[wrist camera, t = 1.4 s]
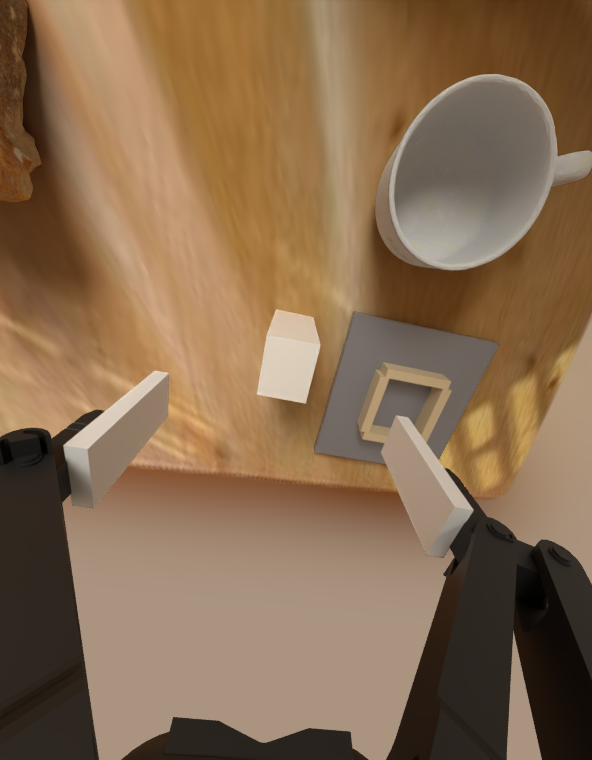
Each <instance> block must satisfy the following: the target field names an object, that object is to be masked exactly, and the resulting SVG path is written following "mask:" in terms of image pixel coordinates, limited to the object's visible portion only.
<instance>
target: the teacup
mask: <svg viewBox="0 0 592 760" xmlns="http://www.w3.org/2000/svg"><path fill="white" fill-rule="evenodd" d="M591 168H592V152H591V151H579V152H574V153H570V154H566V155H562V156H557V138H556V135H555V126H554V122H553V118H552V115H551V113H550V111H549V109H548V107H547V105H546V104H545V102H544V101H543V99H542V98H541V96H540V95H539V94H538V93H537V92H536V91H535V90H534V89H532V88H531V87H530V86H529V85H527V84H526V83H524V82H522V81H520V80H518V79H516V78H512V77H508V76H504V75H500V74H484V75H477V76H474V77H470V78H467V79H465V80H462V81H460V82H458V83H456V84H454V85H452V86H450V87H449V88H447V89H445V90H444V91H442V92H441V93H440V94H439V95H437V96H436V97H435V98H434V99H432V100H431V101H430V102H429V103H428V104H427V105H426V106H425V107H424V108H423V109H422V110H421V112H420V113H419V114H418V115H417V117H416V118H415V119H414V120H413V122H412V123H411V125H410V126H409V128H408V129H407V131H406V133H405V135H404V137H403V138H402V141H401V142H400V143H399V145H398V146H397V148H396V149H395V151H394V152H393V154H392V156H391V157H390V159H389V161H388V162H387V164H386V166H385V168H384V171H383V173H382V176H381V178H380V181H379V185H378V189H377V193H376V200H375V217H376V223H377V227H378V230H379V233H380V235H381V238H382V240H383V242H384V243H385V245H386V246H387V247H388V249H389V250H390V251H391V252H392V253H393V254H394V255H395V256H397V257H398V258H399V259H401V260H403V261H404V262H406V263H409V264H411V265H415V266H419V267H424V268H433V269H441V270H448V271H458V270H467V269H471V268H475V267H477V266H480V265H483V264H486V263H489V262H490V261H492V260H494V259H496V258H498V257H499V256H501V255H503V254H504V253H506V252H507V251H508V250H509V249H510V248H512V247H513V246H514V245H515V244H516V243H517V242H518V241H520V239H521V238H522V237H523V236H524V235H525V234H526V233H527V232H528V231H529V229H530V227H531V226H532V225H533V224H534V222H535V221H536V219H537V217H538V216H539V214H540V212H541V210H542V208H543V206H544V204H545V202H546V199H547V197H548V194H549V192H550V189H551V187H555V186H559V185H563V184H567V183H571V182H575V181H578V180H580V179H583V178H584V177H586V176H587V175H588V174H589V172H590V170H591Z"/></svg>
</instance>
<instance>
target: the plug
mask: <svg viewBox="0 0 592 760" xmlns="http://www.w3.org/2000/svg"><path fill="white" fill-rule="evenodd" d="M320 346H321V345H320V341H319V338H318V334H317V330H316V326H315V322H314V318H313V317H310V316H305V315H300V314H296V313H291V312H286V311H281V310H277V309H276V311H275V314H274V317H273V319H272V322H271V325H270V328H269V331H268V333H267V338H266V344H265V349H264V355H263V361H262V367H261V373H260V379H259V384H258V390H257V395H262V396H267V397H273V398H278V399H284V400H289V401H294V402H300V403H305V404H306V400H307V397H308V393H309V389H310V385H311V381H312V377H313V373H314V369H315V365H316V361H317V357H318V353H319V350H320Z"/></svg>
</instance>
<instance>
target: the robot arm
mask: <svg viewBox="0 0 592 760" xmlns="http://www.w3.org/2000/svg"><path fill="white" fill-rule="evenodd" d="M168 396H169V373H166V372H160V371H154V372H153V373H151V374H150V375H149V376H148V377H146V378H145V379H144V380H143V381H141V382H140V383H139V384H138V385H137V386H135V387H134V388H133V389H132V390H130V391H129V392H128V393H127V394H126V395H124V396H123V397H122V398H121V399H119V400H118V401H117V402H116V403H115V404H113V405H112V406H111V407H110V408H108V409H107V410H106V411H102V410H94V411H92V412H89V413H87V414H84V415H83V416H81V417H80V418H79V419H77V420H76V421H75V422H74V423H72V424H71V425H69V426H68V427H67V429H64V430H63V431H61V432H60V433H59V434H57V435H56V436H55V437H53V438H52V439H51V435H50V433H49V432H48V431H47V430H44V429H41V428H25V429H20V430H16V431H12V432H10V433H7V434H5V435H3V436H1V437H0V760H99V757H98V750H97V743H96V737H95V731H94V725H93V717H92V710H91V703H90V696H89V689H88V682H87V675H86V668H85V661H84V654H83V647H82V640H81V633H80V626H79V619H78V612H77V604H76V597H75V591H74V583H73V576H72V569H71V562H70V555H69V548H68V541H67V534H66V527H65V521H64V513H63V506H62V502H63V501H64V500H65V499H66V498H67V497H68V496H69V495H70V494H71V500H72V505H73V506H80V507H87V508H95V507H96V505H97V504H98V503H99V501H100V500H101V499H102V498H103V496H104V495H105V494H106V492H107V491H108V490H109V489H110V488H111V486H112V485H113V484H114V483H115V481H116V480H117V479H118V478H119V476H120V475H121V474H122V472H123V471H124V470H125V469H126V468H127V466H128V465H129V464H130V463H131V461H132V460H133V459H134V458H135V456H136V455H137V454H138V453H139V451H140V450H141V449H142V448H143V446H144V445H145V444H146V443H147V441H148V440H149V439H150V438H151V436H152V435H153V434H154V433H155V431H156V430H157V429H158V428H159V426H160V425H161V424H162V422H163V421H164V420H165V419H166V417H167V416H168ZM381 454H382V456H383V458H384V461H385V463H386V465H387V468H388V470H389V472H390V474H391V477H392V479H393V481H394V483H395V486H396V488H397V490H398V493H399V495H400V497H401V499H402V501H403V504H404V506H405V508H406V511H407V513H408V515H409V517H410V520H411V522H412V524H413V526H414V529H415V531H416V534H417V536H418V538H419V540H420V543H421V545H422V547H423V549H424V552H425V554H426V555H427V556H434V557H441V558H444V556H445V555H446V553H447V552H448V550H449V548H450V549H451V551H452V552H453V554H454V556H455V558H454V559H453V560H452V562H451V564H450V565H449V567H448V568H447V570H446V571H445V573H444V576H447V577H446V580H445V584H444V586H443V590H442V593H441V596H440V599H439V602H438V606H437V609H436V612H435V615H434V619H433V622H432V625H431V628H430V631H429V634H428V637H427V641H426V644H425V647H424V650H423V653H422V656H421V659H420V663H419V666H418V669H417V672H416V675H415V678H414V682H413V685H412V688H411V691H410V694H409V698H408V701H407V704H406V707H405V710H404V713H403V717H402V720H401V723H400V726H399V729H398V733H397V736H396V739H395V741H394V744H393V746H392V749H391V751H390V753H389V755H388V757H387V759H386V760H507V755H506V754H507V736H508V718H509V698H510V681H511V661H512V643H513V631H514V635H515V640H516V644H517V649H518V653H519V657H520V662H521V667H522V671H523V676H524V680H525V684H526V689H527V693H528V698H529V703H530V707H531V712H532V716H533V721H534V725H535V730H536V734H537V739H538V743H539V748H540V753H541V757H542V760H592V584H591V582H590V580H589V578H588V577H587V575H586V573H585V571H584V569H583V567H582V565H581V564H580V563H579V561H578V560H577V559H576V558H575V557H574V556H573V555H572V554H571V553H570V552H569V551H568V550H566V549H565V548H563V547H562V546H560V545H558V544H556V543H554V542H552V541H549V540H541V541H539V542H538V544H537V545H536V546H535V547H533V546H531V545H528V544H526V543H524V542H521V541H519V540H517V539H516V537H515V536H514V534H513V533H512V532H511V531H510V530H509V529H508V528H507V527H506V526H505V525H503V524H501V523H500V522H499V521H497V520H495V519H493V518H489V517H487V516H486V515H485V513H484V512H483V511H482V509H481V508H480V506H479V505H478V504H477V502H476V501H475V500H474V498H473V497H472V496H471V494H469V492H468V490H467V489H466V487H464V485H463V483H462V482H461V481H460V479H459V478H458V477H457V476H456V475H455V474H454V473H453V472H451V471H450V470H449V469H447V468H444V467H443V466H442V465H441V463H440V462H439V460H438V459H437V457H436V456H435V455H434V453H433V452H432V450H431V449H430V448H429V446H428V445H427V443H426V442H425V440H424V439H423V438H422V436H421V435H420V433H419V432H418V431H417V429H416V428H415V426H414V425H413V423H412V422H411V421H410V419H409V418H408V417H403V416H398V415H396V416H395V419H394V421H393V424H392V426H391V429H390V431H389V434H388V436H387V438H386V441H385V443H384V446H383V448H382V451H381ZM122 760H368V759H367V758H366V757H364V756H363V755H362V754H360V753H359V752H358V751H356V750H355V749H352V742H351V732H348V731H336V730H324V729H311V728H308V729H305V730H302V731H299V732H297V733H294V734H291V735H288V736H285V737H282V738H279V739H276V740H273V741H270V742H267V743H260V742H258V741H256V740H254V739H252V738H250V737H248V736H247V735H245V734H243V733H241V732H239V731H237V730H235V729H233V728H231V727H229V726H227V725H225V724H224V723H222V722H220V721H213V720H202V719H189V718H177V717H173V720H172V724H171V728H170V732H167V733H164V734H161V735H159V736H156V737H154V738H152V739H150V740H148V741H146V742H145V743H143V744H141V745H140V746H138V747H137V748H135V749H134V750H132V751H131V752H130V753H129V754H128V755H126V756H125V757H124V758H123V759H122Z"/></svg>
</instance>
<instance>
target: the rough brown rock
mask: <svg viewBox="0 0 592 760" xmlns="http://www.w3.org/2000/svg"><path fill="white" fill-rule="evenodd" d="M26 35H27V4H26V1H25V0H0V201H7V202H21V201H25V200H28V199H30V197H31V194H32V191H33V188H34V187H33V185H32V183H31V177H30V173H31V172H32V171H33V170H34V169H35V168H36V167H37V166H39V165H41V164H42V163H41V160H40V156H39V153H38V151H37V148H36V146H35V140H34V138H33V137H32V136H31V135H30V134H28V133H27V132H26V131H25V130H24V127H23V125H22V121H23V96H24V89H25V83H26V79H27V74H26V67H25V63H24V61H23V59H22V54H23V51H24V47H25V40H26Z"/></svg>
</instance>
